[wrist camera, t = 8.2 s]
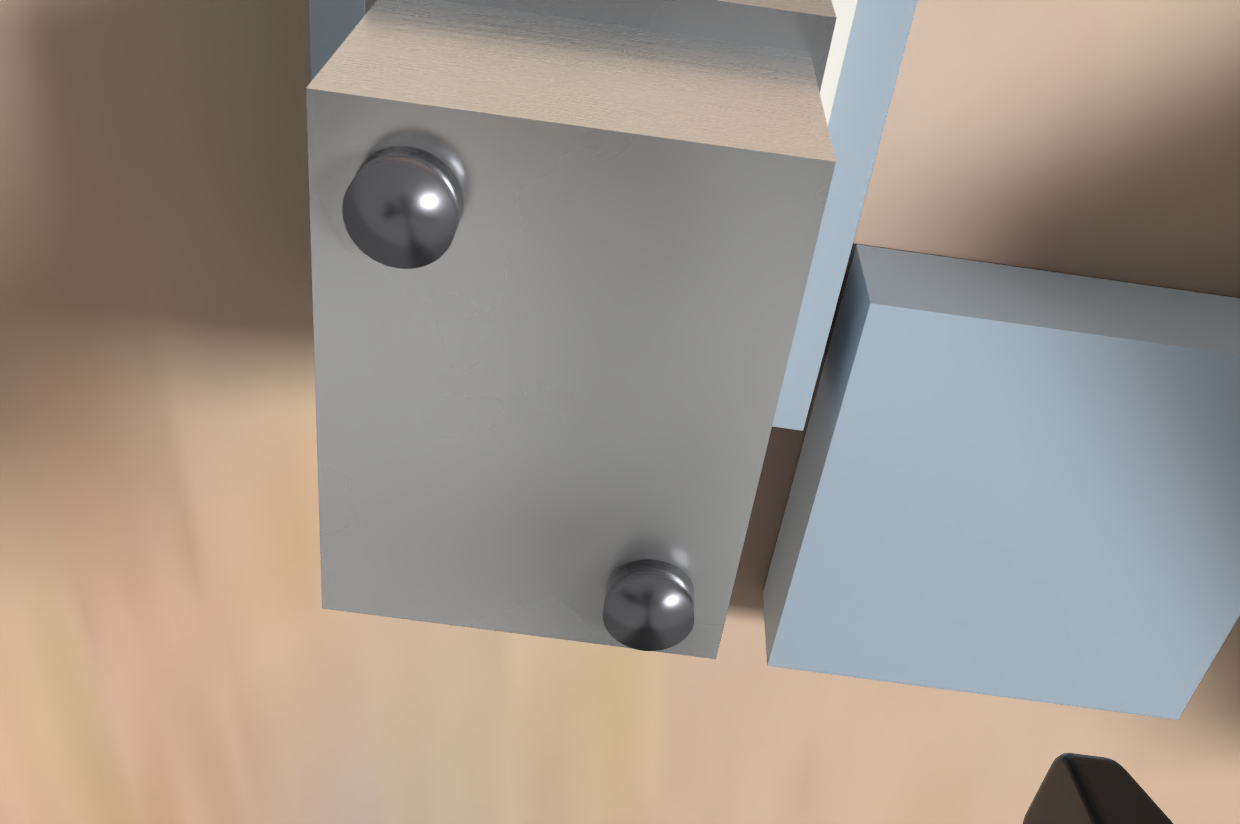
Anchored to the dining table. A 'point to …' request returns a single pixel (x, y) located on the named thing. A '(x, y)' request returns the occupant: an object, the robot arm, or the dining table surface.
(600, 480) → the housing
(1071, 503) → the stand
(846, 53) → the stand
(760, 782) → the dining table surface
